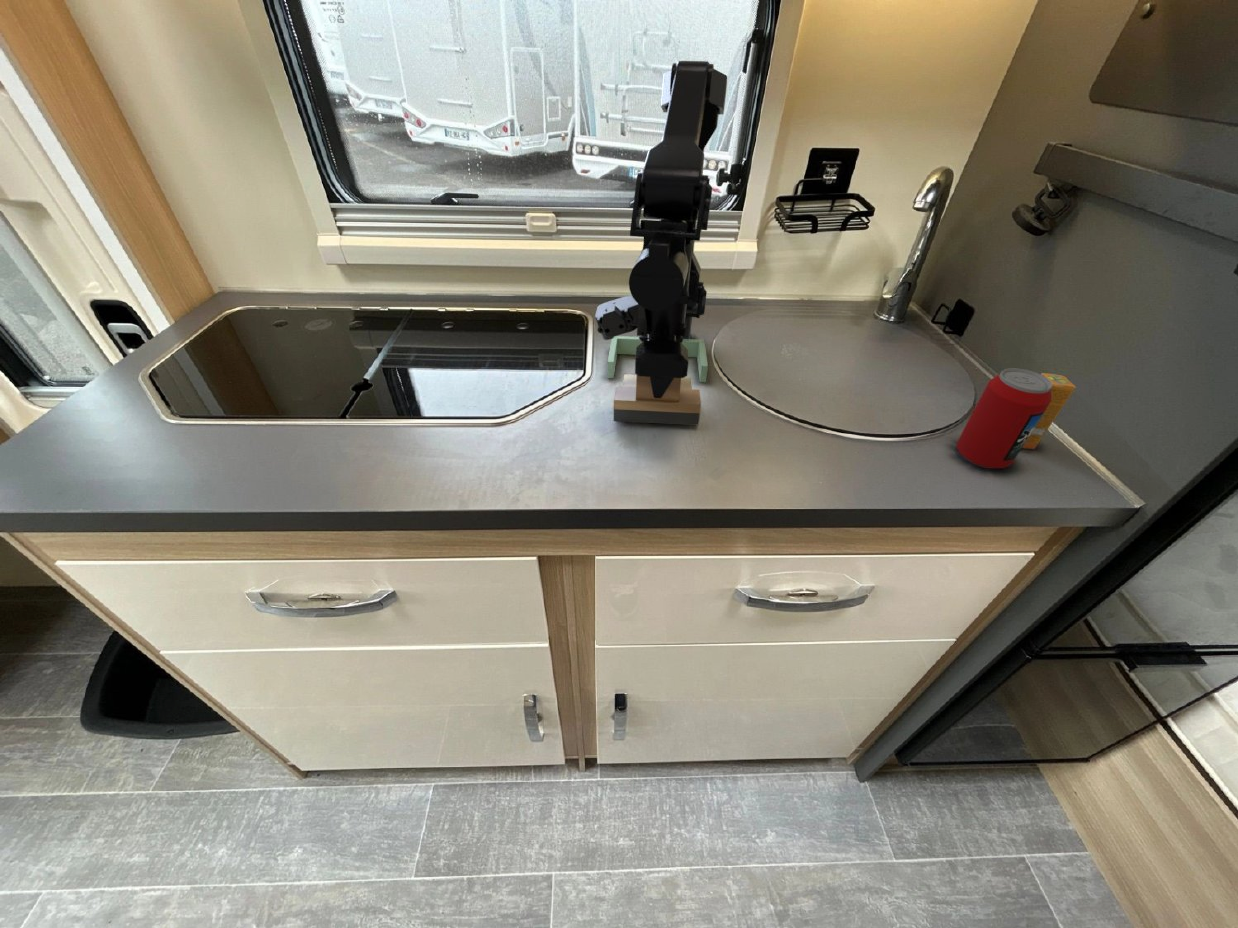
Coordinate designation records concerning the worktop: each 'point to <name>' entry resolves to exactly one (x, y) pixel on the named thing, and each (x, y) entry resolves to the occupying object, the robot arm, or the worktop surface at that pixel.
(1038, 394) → the beverage can
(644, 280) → the robot arm
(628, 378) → the block
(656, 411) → the brush
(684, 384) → the block
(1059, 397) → the supplement box
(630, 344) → the corral
